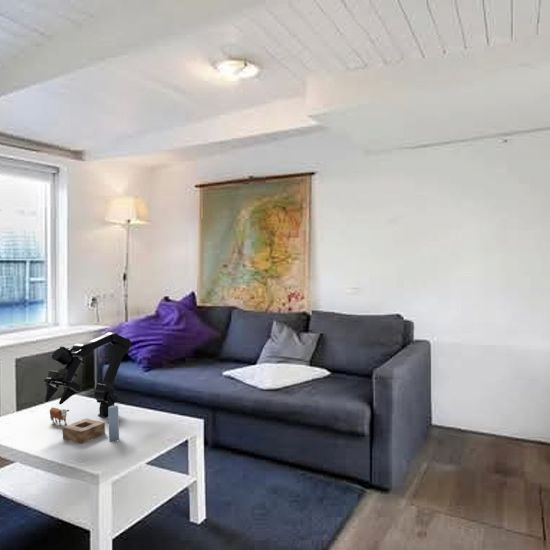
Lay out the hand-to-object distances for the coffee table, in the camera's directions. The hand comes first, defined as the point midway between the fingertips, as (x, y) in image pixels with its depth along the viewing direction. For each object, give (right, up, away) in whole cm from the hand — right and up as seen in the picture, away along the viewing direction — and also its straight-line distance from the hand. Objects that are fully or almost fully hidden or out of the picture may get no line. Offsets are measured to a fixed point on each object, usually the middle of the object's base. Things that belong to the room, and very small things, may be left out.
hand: (52, 402), depth 200 cm
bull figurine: (-4, -14, +14) cm, 21 cm away
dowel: (+29, -14, -6) cm, 32 cm away
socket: (+14, -14, -1) cm, 20 cm away
